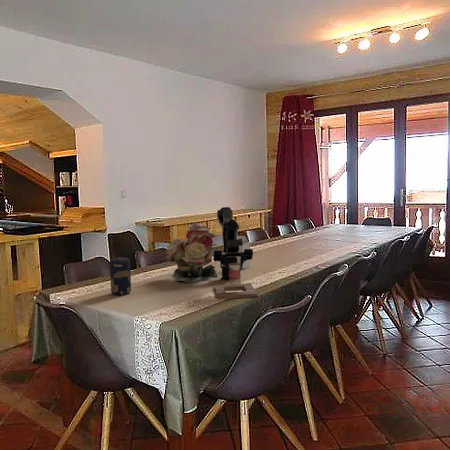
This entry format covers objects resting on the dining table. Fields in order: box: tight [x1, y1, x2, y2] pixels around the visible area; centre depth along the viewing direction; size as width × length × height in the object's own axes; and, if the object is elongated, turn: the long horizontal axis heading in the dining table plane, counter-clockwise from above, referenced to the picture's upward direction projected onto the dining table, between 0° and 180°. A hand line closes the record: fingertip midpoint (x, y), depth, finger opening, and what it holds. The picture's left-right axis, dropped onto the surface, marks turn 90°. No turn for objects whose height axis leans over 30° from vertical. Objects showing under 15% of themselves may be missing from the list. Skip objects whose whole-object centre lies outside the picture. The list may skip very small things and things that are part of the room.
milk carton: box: [236, 235, 251, 270], centre depth 264 cm, size 7×7×19 cm
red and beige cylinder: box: [228, 263, 242, 285], centre depth 207 cm, size 6×6×9 cm
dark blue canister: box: [108, 256, 132, 296], centre depth 211 cm, size 10×10×18 cm
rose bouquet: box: [164, 222, 218, 285], centre depth 239 cm, size 26×29×30 cm
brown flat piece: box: [213, 282, 259, 300], centre depth 208 cm, size 20×18×2 cm
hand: (234, 269), depth 206 cm, fingers closed on red and beige cylinder, 5 cm apart
